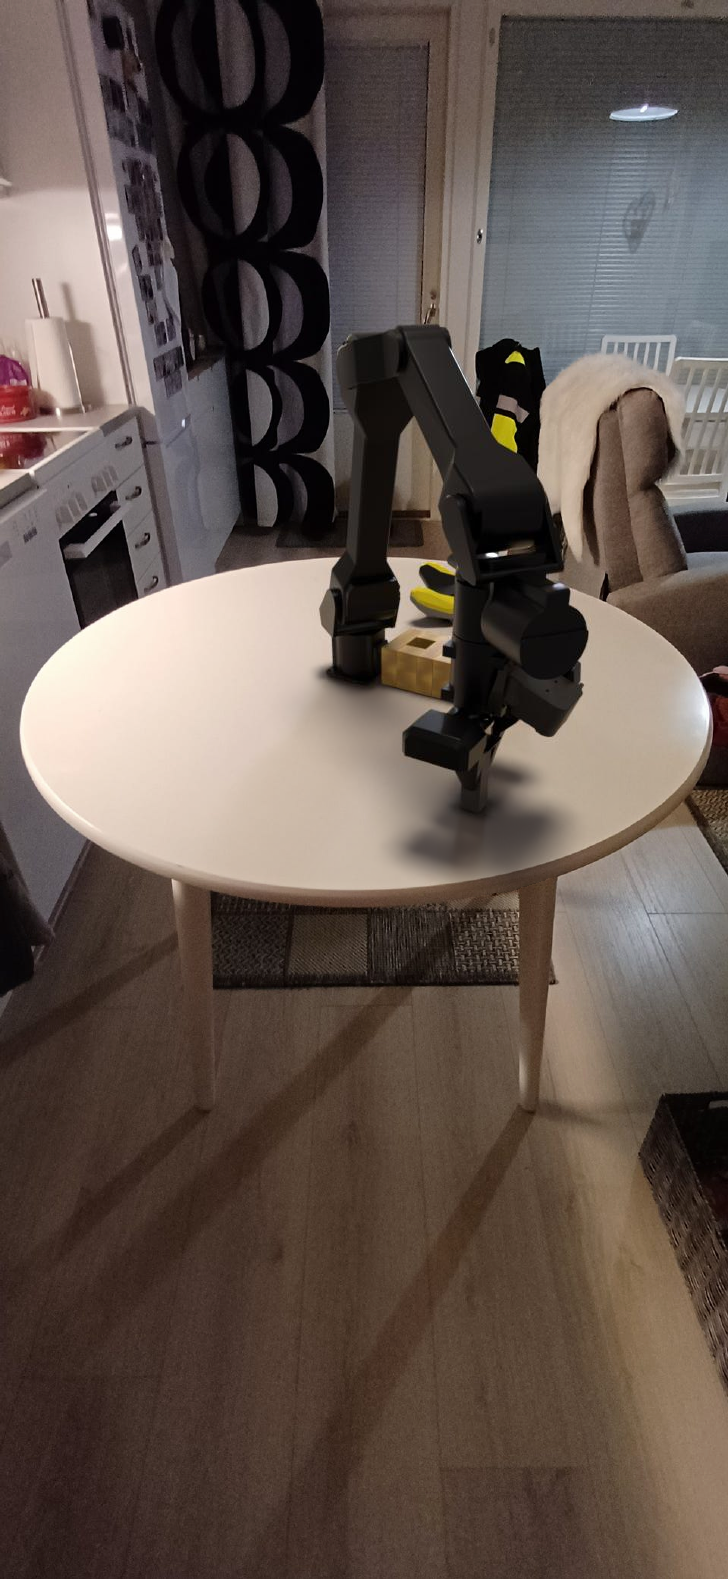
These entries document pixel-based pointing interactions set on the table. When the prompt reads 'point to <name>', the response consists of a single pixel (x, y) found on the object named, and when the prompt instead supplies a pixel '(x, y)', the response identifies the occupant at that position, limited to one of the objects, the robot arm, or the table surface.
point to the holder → (416, 662)
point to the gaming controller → (435, 591)
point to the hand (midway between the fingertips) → (474, 784)
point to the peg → (477, 788)
